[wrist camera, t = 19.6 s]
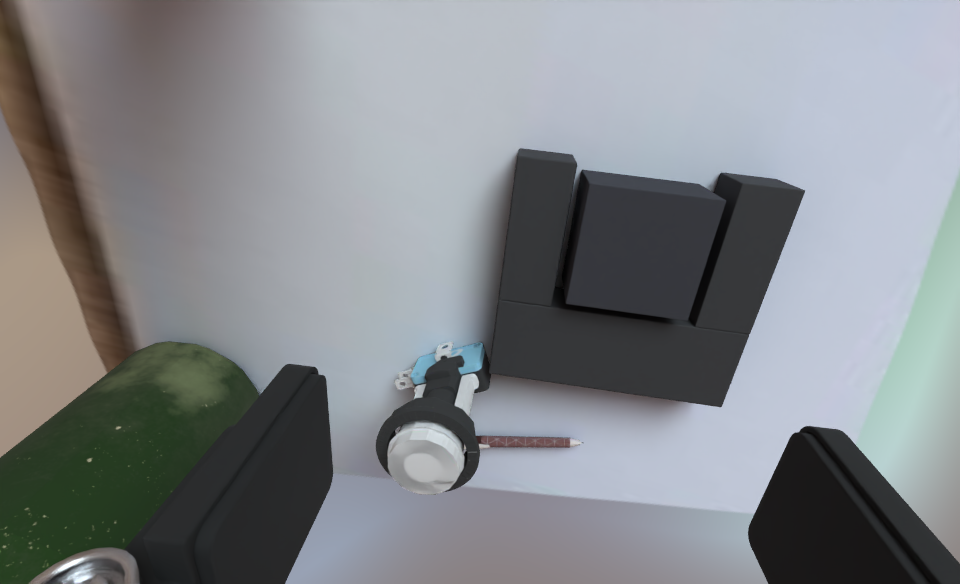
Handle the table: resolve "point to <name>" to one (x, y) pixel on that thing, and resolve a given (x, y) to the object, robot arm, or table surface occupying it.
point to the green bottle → (114, 455)
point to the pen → (524, 442)
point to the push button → (436, 421)
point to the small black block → (639, 244)
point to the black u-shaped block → (628, 336)
